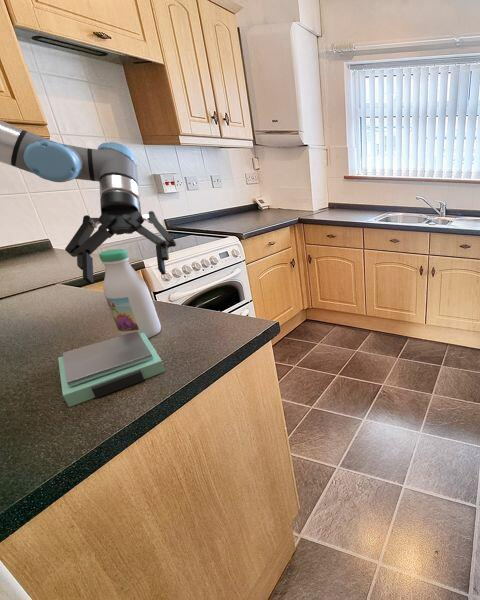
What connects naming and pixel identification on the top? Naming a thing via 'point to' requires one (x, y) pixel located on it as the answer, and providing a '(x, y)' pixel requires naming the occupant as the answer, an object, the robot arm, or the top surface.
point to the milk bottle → (128, 295)
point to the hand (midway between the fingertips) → (126, 276)
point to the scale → (110, 378)
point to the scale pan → (104, 357)
